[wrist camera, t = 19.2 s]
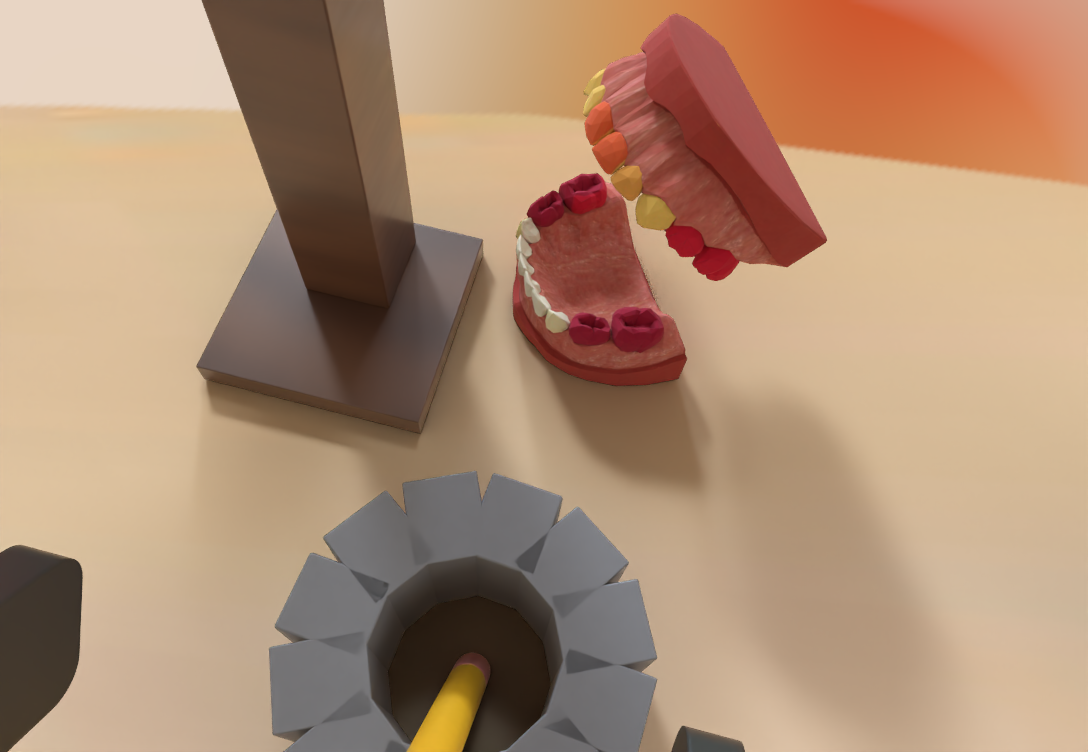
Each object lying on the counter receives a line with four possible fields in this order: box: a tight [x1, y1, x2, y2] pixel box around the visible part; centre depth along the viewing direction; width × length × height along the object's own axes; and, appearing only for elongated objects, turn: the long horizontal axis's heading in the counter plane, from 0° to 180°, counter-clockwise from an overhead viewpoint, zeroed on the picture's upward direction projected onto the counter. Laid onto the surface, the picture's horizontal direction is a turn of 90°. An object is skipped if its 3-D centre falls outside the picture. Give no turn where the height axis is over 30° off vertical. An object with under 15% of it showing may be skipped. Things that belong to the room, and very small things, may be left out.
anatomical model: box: [513, 14, 827, 386], centre depth 34 cm, size 10×8×15 cm
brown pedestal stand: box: [197, 0, 483, 433], centre depth 24 cm, size 12×10×32 cm
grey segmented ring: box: [269, 471, 657, 752], centre depth 29 cm, size 12×12×6 cm
